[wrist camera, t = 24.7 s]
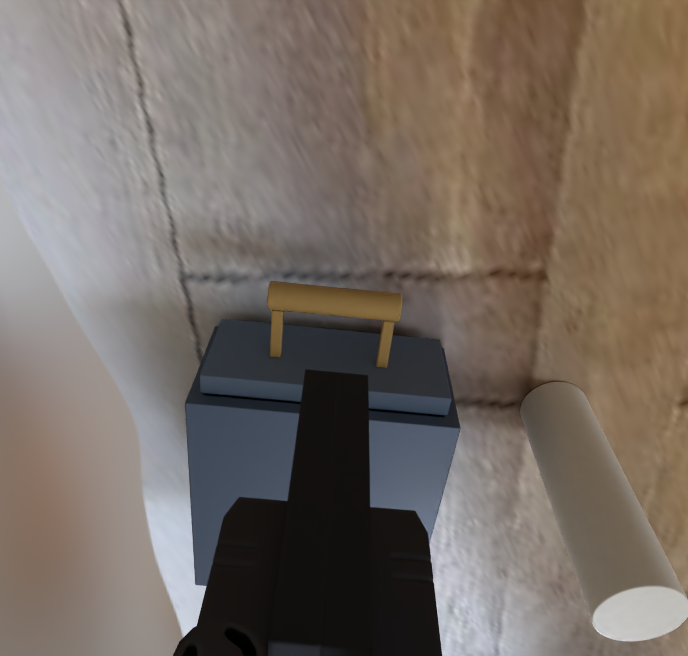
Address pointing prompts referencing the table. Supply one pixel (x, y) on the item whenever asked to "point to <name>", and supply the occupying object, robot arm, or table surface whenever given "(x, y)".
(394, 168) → the table surface
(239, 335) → the drawer
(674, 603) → the candle
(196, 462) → the cabinet
